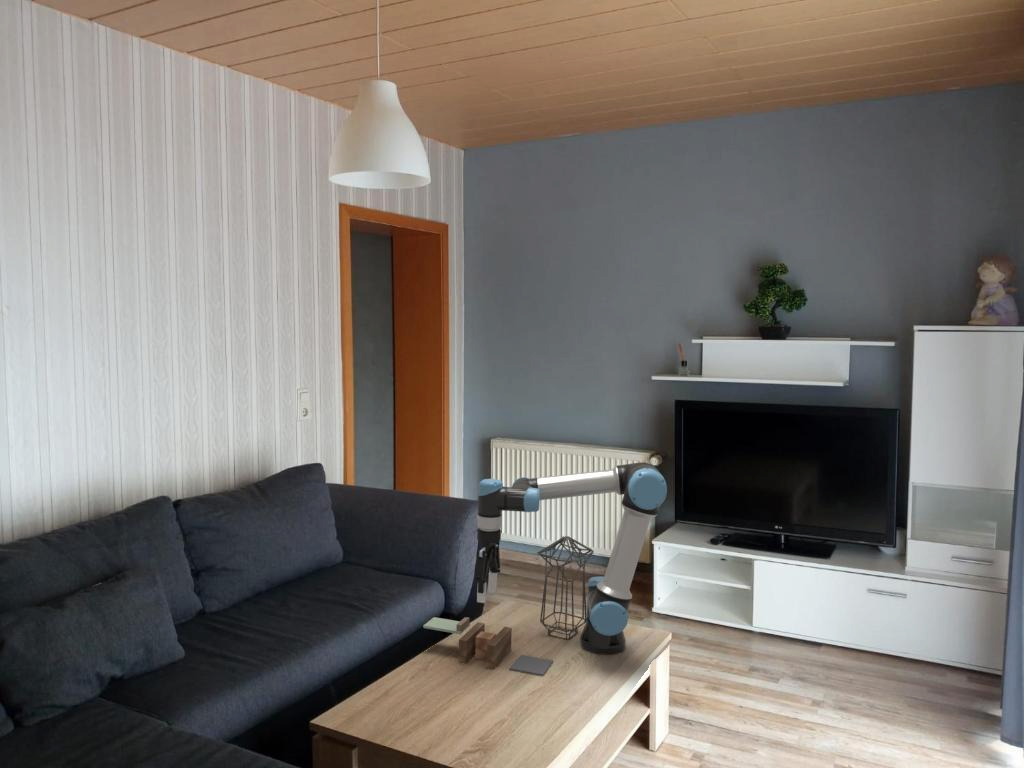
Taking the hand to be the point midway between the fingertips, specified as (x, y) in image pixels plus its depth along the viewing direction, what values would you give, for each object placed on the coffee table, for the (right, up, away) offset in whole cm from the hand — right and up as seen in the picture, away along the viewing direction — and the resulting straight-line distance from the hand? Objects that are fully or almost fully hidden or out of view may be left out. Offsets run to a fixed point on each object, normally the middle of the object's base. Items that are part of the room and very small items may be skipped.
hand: (487, 597), depth 262 cm
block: (-1, -20, +2) cm, 20 cm away
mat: (+14, -20, -4) cm, 25 cm away
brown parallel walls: (-1, -19, +2) cm, 20 cm away
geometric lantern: (+25, -19, +21) cm, 38 cm away
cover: (-13, -11, +6) cm, 18 cm away
